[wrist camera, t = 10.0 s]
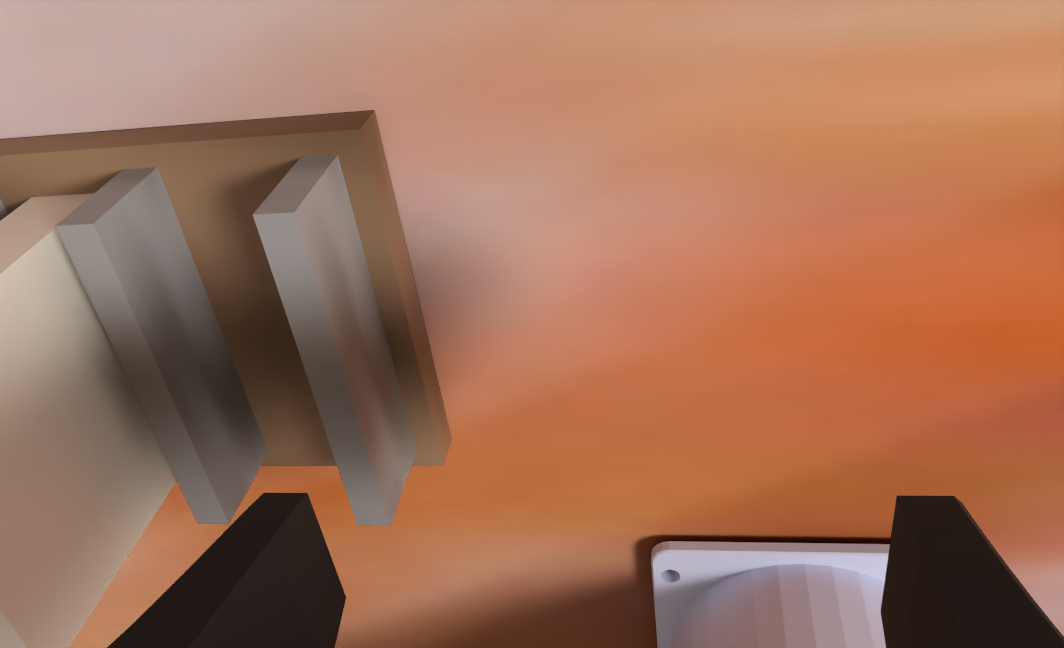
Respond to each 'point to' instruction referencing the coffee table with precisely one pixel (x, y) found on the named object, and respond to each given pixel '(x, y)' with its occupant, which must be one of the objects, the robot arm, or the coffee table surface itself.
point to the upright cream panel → (63, 439)
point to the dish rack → (252, 297)
